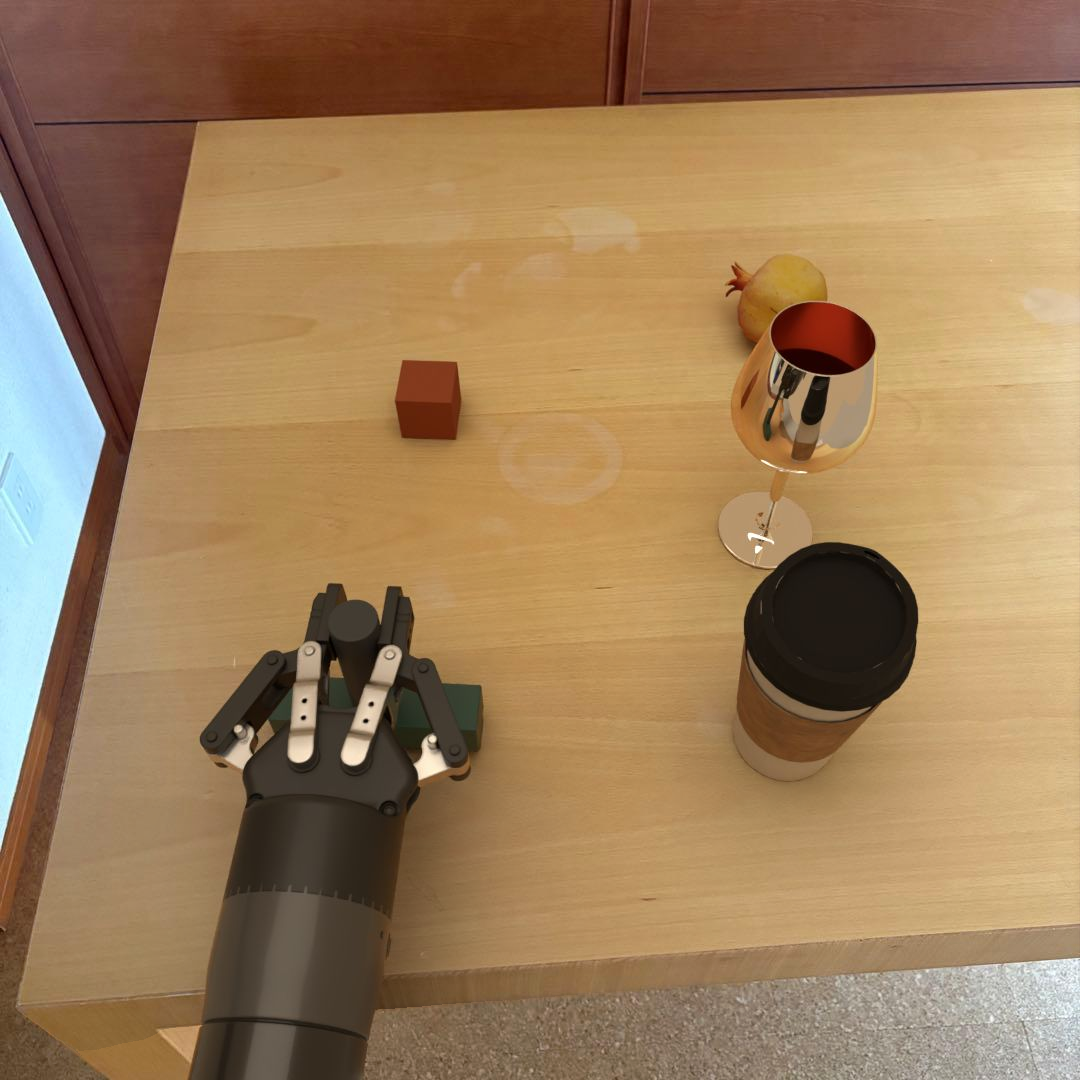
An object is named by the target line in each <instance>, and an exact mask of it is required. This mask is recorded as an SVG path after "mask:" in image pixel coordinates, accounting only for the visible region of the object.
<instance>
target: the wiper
mask: <svg viewBox="0 0 1080 1080" xmlns="http://www.w3.org/2000/svg"><path fill="white" fill-rule="evenodd" d="M380 625H381V620H380V617H379V613H378V611H377V609H376V608H375V606H374V605H373V604H371V603H370V602H368V601H365V600H362V599H347V601H345V602H343V603H341V604H339V605H338V606H336V607H335V608H334V609H333V610H332V612H331V613H330V615H329V617H328V621H327V626H328V630H329V633H330V636H331V639H332V643H333V646H334V649H335V652H336V655H337V661H338V665H339V667H340V671H341V674H342V677H334V676H333V677H332V676H330V688H329V704H330V706H331V707H334V708H337V709H345V708H350V707H356V706H358V705H359V702H360V699H361V696H362V693H363V690H364V687H365V685H366V683H368V682H369V681H370V678H371V675H372V672H373V669H374V666H375V663H376V660H377V657H378V654H379V652H380V651H379V647H378V644H377V642H378V636H379V634H380V629H381V627H380ZM442 684H443V687H444V689H445V692H446V695H447V697H448V700H449V702H450V705H451V707H452V710H453V712H454V715H455V718H456V720H457V723H458V725H459V728H460V730H461V733H462V735H463V738H464V740H465V743H466V746H467V749H468V751H473V752H478V751H479V750H481V747H482V737H483V728H484V707H485V706H484V698H483V689H482V685H481V684H470V683H469V684H468V683H467V684H466V683H446V682H442ZM292 697H293V687H292V688H291V690H290V691H289V692H288V693H287V695H286V696H285V697H284V699H283V700H282V701H281V703H280V704H279V705H278V706H277V708H276V709H275V710H274V712H273V713H272V714H271V716H270V717H269V718H268V720H267V721H268V723H269V725H270V728H271V729H272V731H273V733H274V734H275V733H276V732H277V731H278V730H279V729H280V728H281V727H282V726H283V725H284V724H285V723H286V722H288V721H289V720H290V719H291V712H292ZM394 732H395V734H396V735H397V737H398V739H399V741H400V742H401V744H402V746H403V747H404V748H414V749H415V748H419V749H422V741H423V739H424V738H425V737H426V736H427V735H429V734H432V731H431V728H430V726H429V723H428V720H427V718H426V715H425V712H424V710H423V707H422V704H421V702H420V699H419V696H418V694H417V693H416V692H413V691H411V690H408V689H406V688H404V691H403V694H402V697H401V701H400V704H399V709H398V718H397V722H396V725H395V728H394ZM274 734H273V735H274Z"/></svg>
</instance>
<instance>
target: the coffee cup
mask: <svg viewBox="0 0 1080 1080" xmlns="http://www.w3.org/2000/svg"><path fill="white" fill-rule="evenodd" d="M918 626H919V605H918V602H917V597H916V594H915V592H914V590H913V588H912V587H911V584H910V583H909V581H908V580H907V578H906V577H905V575H903V573H902V572H901V571H900V570H899V569H898V568H897V567H896V566H895V565H894V564H893V563H892V562H891V561H889V559H887V558H886V557H885V556H884V555H882V553H880V552H879V551H877V550H875V549H872V548H869V547H866V546H862V545H859V544H853V543H848V542H847V543H846V542H839V541H824V542H818V543H817V542H816V543H813V544H812V543H811V545H810V546H807V547H804V548H801V549H800V550H798V551H796V552H795V553H793V554H791V555H790V556H788V557H787V558H786V559H785V560H784V561H783V562H781V563H780V564H779V565H778V566H777V568H776V569H773V571H772V572H771V573H769V574H768V575H767V576H766V577H765V578H763V580H762V581H761V582H760V583H759V585H758V586H757V587H756V588H755V590H754V592H753V593H752V595H751V597H750V598H749V601H748V603H747V605H746V607H745V612H744V617H743V637H744V639H743V643H742V644H743V645H742V652H741V653H742V654H741V660H740V669H739V677H738V685H737V693H736V705H735V711H734V715H733V723H732V735H733V740H734V744H735V747H736V748H737V751H738V752H739V754H740V756H741V757H742V758H743V760H744V761H745V763H747V764H748V765H749V766H750V767H751V768H752V769H753V770H754V771H756V772H757V773H758V774H761V775H763V776H765V777H767V778H770V779H773V780H777V781H782V782H783V781H784V782H795V781H801V780H804V779H808V778H810V777H811V776H813V775H815V774H816V773H817V772H819V771H820V770H821V769H822V768H823V767H824V766H825V765H826V764H827V763H828V762H829V761H830V759H831V758H832V757H833V756H834V754H835V753H836V752H837V751H838V750H839V749H840V748H841V747H842V746H844V744H845V743H846V742H847V741H848V740H849V739H850V738H851V737H852V736H853V734H855V733H856V732H857V730H858V729H859V728H860V727H861V726H862V725H863V724H864V723H865V722H867V720H868V719H869V718H870V716H872V714H873V713H874V712H875V711H876V710H877V709H878V708H879V707H880V706H881V705H882V703H883V702H884V701H886V700H888V699H890V697H892V696H893V695H894V694H895V693H896V692H898V691H899V690H900V688H902V686H903V684H904V683H905V682H906V680H907V679H908V677H909V676H910V673H911V669H912V667H913V664H914V660H915V658H916V652H917V651H916V649H917V644H918V643H917V642H918V639H917V634H918Z"/></svg>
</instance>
